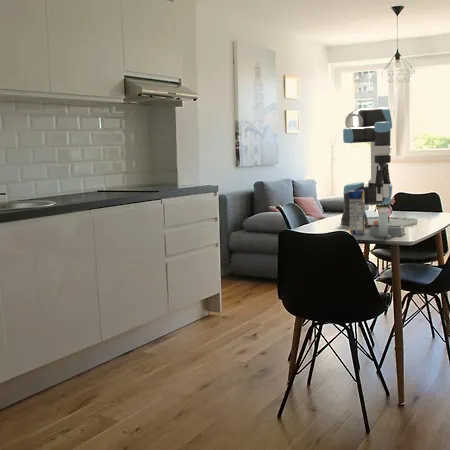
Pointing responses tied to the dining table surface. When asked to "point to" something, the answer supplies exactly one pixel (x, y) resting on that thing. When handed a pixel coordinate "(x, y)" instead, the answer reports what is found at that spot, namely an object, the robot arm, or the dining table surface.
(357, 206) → the beverage box
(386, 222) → the cartridge
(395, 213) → the dining table surface
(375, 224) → the plunger
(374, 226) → the housing
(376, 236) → the mat
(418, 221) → the dining table surface
